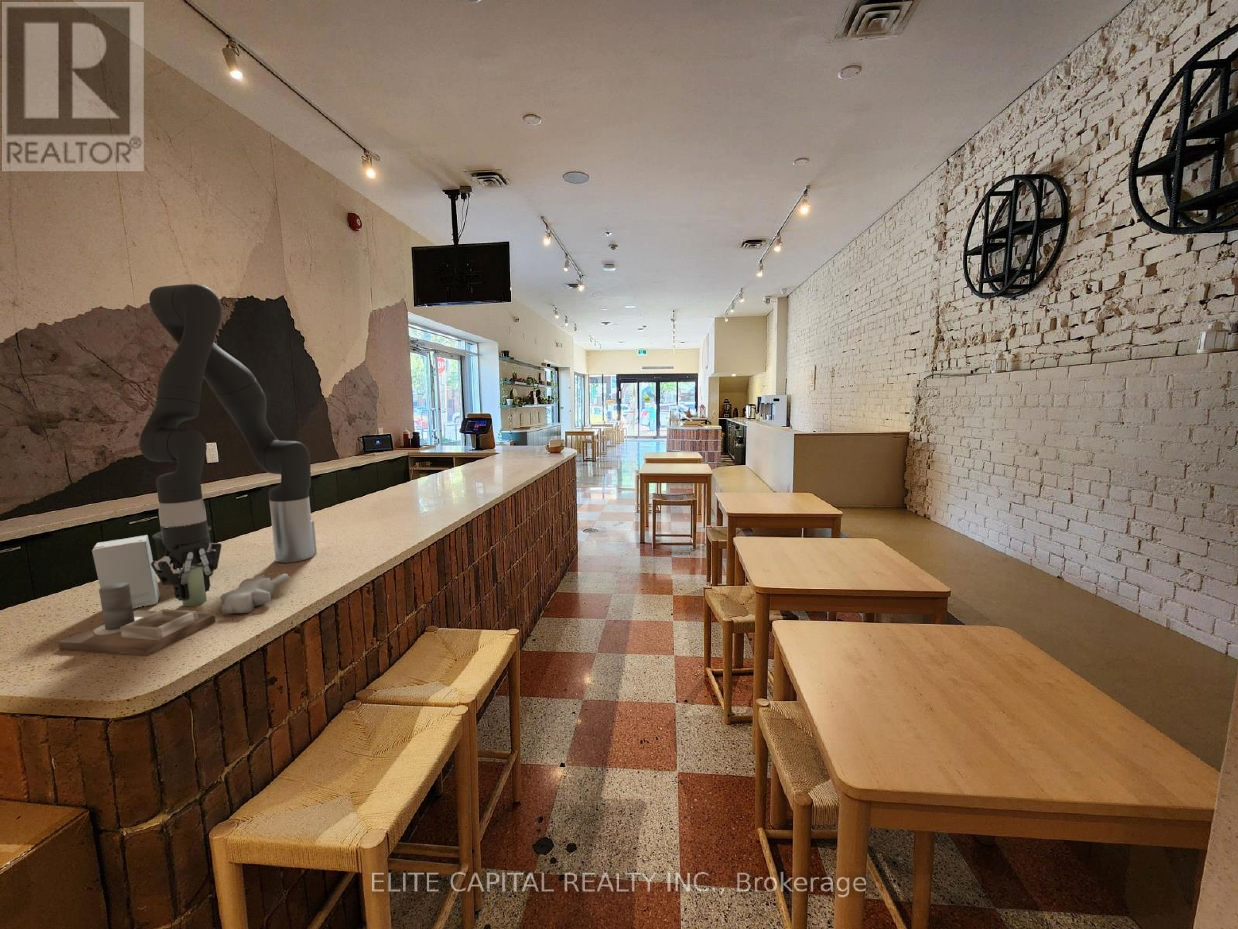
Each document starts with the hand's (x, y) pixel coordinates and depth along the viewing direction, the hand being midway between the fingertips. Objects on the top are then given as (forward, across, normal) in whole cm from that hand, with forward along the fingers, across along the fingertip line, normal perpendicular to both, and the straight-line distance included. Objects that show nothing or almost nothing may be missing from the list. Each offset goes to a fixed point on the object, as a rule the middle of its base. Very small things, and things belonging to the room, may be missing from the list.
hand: (193, 595), depth 107 cm
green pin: (+2, 0, 0) cm, 2 cm away
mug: (+2, -15, -17) cm, 23 cm away
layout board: (+2, +14, +4) cm, 15 cm away
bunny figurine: (+2, -2, +13) cm, 13 cm away
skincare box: (+2, +3, -12) cm, 13 cm away
